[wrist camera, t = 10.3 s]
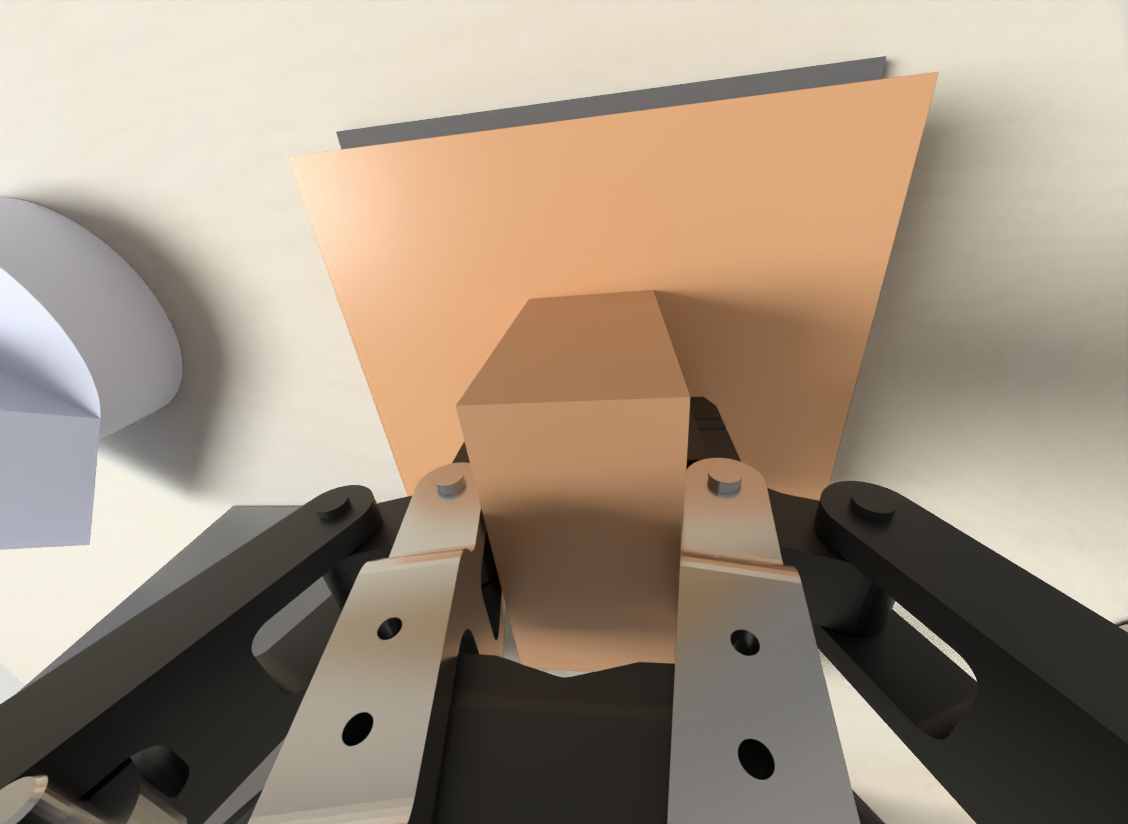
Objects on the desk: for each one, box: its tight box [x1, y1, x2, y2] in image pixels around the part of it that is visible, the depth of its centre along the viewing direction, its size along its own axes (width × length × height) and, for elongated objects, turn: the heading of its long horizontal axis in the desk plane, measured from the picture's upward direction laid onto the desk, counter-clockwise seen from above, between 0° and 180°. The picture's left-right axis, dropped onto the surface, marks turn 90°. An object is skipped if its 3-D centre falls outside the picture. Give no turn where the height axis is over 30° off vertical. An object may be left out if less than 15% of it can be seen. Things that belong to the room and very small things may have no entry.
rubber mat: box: [336, 56, 886, 149], centre depth 15 cm, size 15×15×1 cm
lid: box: [287, 72, 939, 672], centre depth 10 cm, size 13×13×8 cm
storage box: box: [19, 506, 332, 824], centre depth 18 cm, size 11×11×13 cm
